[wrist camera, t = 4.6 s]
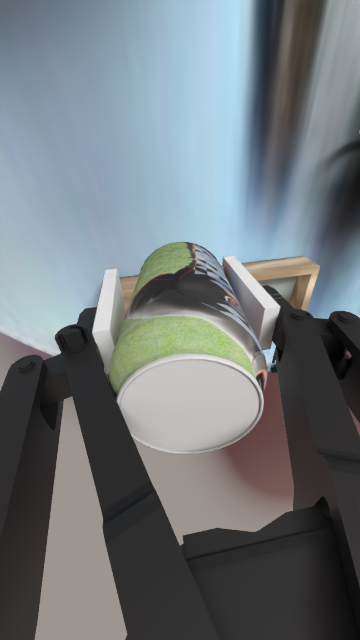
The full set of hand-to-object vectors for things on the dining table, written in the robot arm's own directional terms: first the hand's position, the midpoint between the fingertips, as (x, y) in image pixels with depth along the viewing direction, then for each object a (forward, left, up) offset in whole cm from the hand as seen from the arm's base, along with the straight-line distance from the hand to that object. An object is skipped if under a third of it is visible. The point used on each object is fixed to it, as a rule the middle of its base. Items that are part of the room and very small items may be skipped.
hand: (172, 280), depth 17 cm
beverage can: (0, 0, -1) cm, 1 cm away
